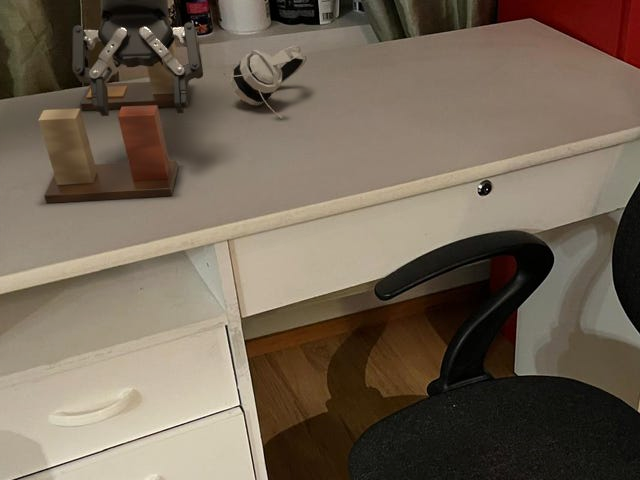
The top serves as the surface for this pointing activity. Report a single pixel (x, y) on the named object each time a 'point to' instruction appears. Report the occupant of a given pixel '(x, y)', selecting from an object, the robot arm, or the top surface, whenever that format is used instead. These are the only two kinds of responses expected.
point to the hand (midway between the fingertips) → (142, 111)
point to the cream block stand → (89, 165)
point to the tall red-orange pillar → (144, 142)
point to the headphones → (264, 74)
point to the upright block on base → (140, 90)
